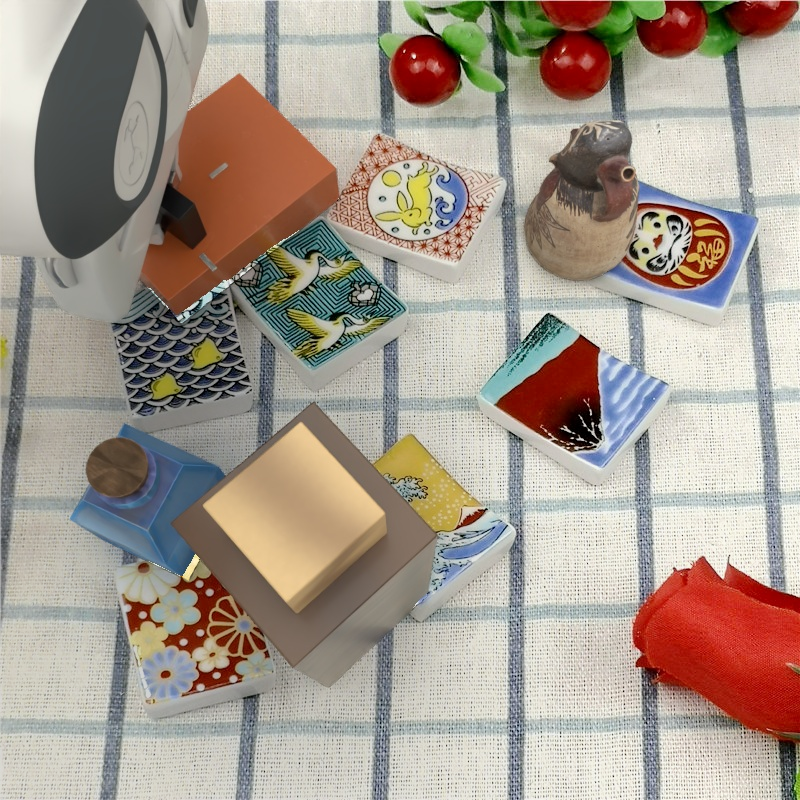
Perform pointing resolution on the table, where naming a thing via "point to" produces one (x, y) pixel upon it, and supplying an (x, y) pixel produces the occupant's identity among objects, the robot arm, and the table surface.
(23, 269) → the table surface
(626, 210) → the figurine
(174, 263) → the block
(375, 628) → the block
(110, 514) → the perfume bottle
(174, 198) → the black battery block
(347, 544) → the wood block
